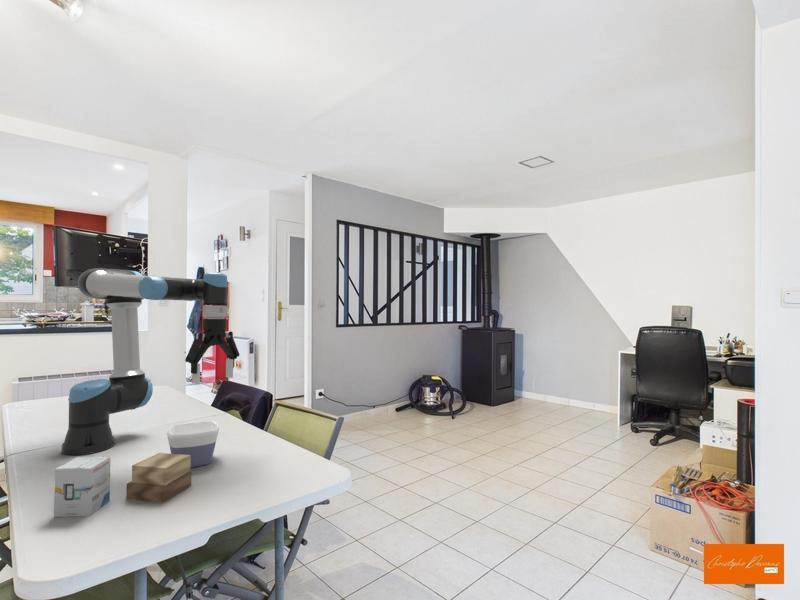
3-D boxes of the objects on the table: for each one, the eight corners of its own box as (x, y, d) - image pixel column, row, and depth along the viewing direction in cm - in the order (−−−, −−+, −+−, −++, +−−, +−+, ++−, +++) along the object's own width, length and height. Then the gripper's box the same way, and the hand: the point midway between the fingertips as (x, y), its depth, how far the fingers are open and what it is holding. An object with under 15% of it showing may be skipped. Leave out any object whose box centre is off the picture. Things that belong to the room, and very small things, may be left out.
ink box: (76, 501, 111) (77, 456, 111) (110, 500, 111) (112, 455, 111) (52, 517, 102) (53, 468, 102) (90, 516, 103) (91, 468, 103)
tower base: (126, 500, 112) (126, 483, 112) (156, 483, 123) (157, 468, 123) (163, 504, 110) (163, 487, 110) (191, 487, 121) (191, 471, 121)
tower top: (131, 482, 113) (132, 465, 113) (159, 468, 122) (159, 452, 123) (165, 485, 111) (165, 468, 111) (190, 471, 121) (190, 455, 121)
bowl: (165, 474, 129) (166, 437, 129) (166, 457, 142) (167, 424, 143) (220, 465, 136) (221, 431, 136) (216, 451, 149) (217, 419, 150)
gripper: (190, 319, 133) (188, 387, 132) (250, 317, 155) (249, 376, 155) (174, 318, 136) (172, 385, 136) (235, 317, 158) (234, 374, 158)
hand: (213, 380), depth 145 cm, fingers open, 13 cm apart
